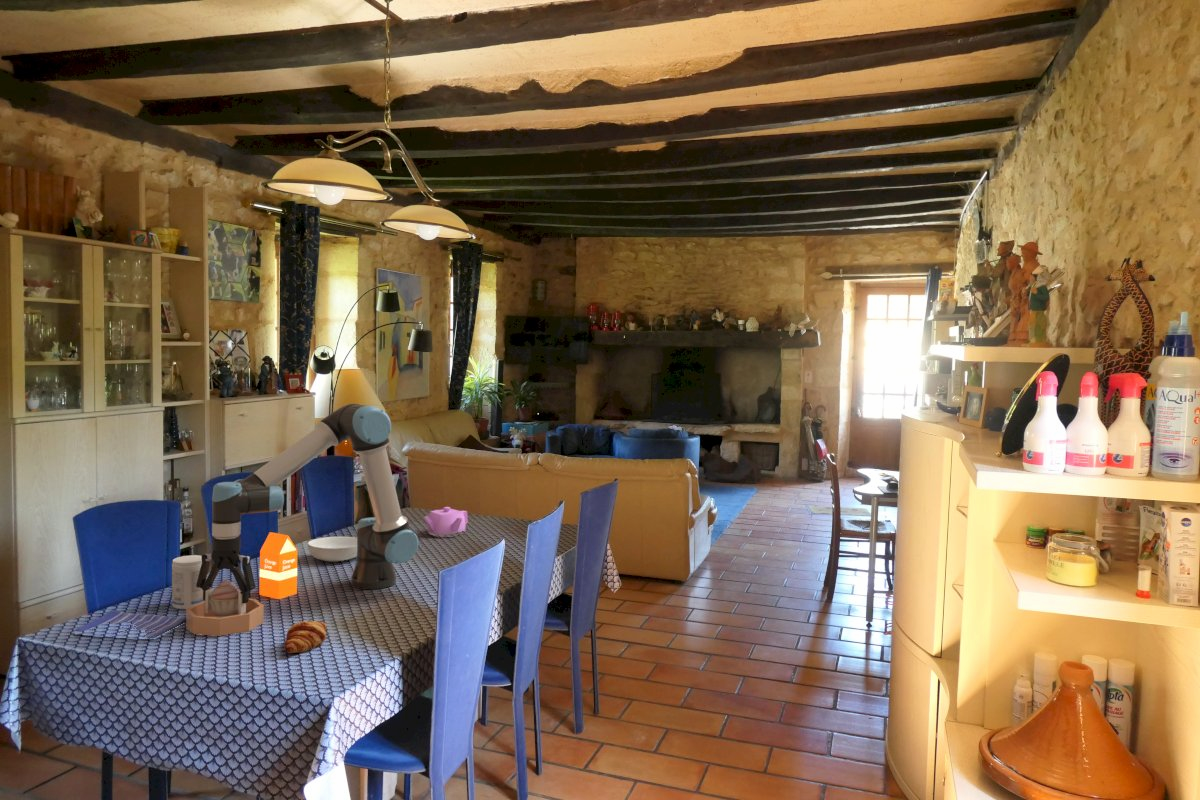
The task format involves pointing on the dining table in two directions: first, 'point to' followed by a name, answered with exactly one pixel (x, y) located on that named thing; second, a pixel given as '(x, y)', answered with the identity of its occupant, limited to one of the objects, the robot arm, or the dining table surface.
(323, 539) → the serving bowl
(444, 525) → the teakettle
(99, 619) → the dish towel
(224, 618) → the bowl
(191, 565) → the supplement tub
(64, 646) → the dining table surface
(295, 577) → the orange juice
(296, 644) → the croissant
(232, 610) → the cupcake
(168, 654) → the dining table surface
